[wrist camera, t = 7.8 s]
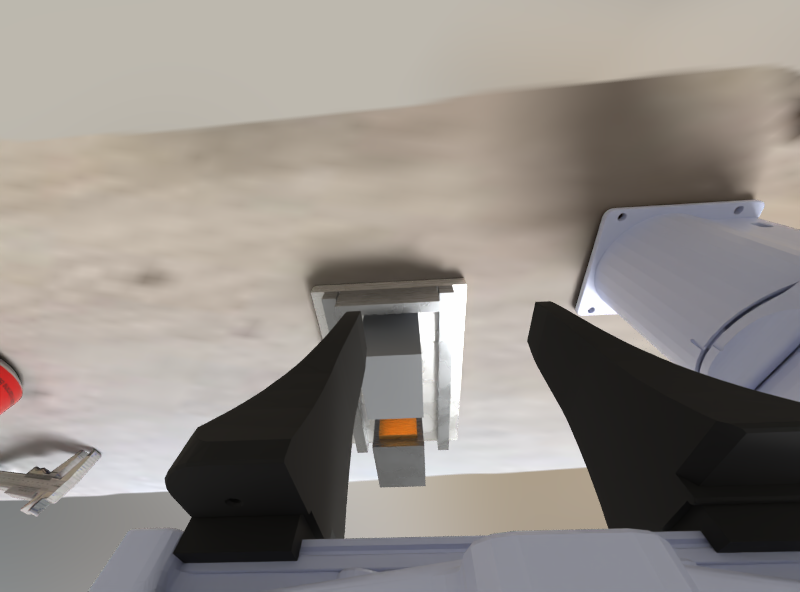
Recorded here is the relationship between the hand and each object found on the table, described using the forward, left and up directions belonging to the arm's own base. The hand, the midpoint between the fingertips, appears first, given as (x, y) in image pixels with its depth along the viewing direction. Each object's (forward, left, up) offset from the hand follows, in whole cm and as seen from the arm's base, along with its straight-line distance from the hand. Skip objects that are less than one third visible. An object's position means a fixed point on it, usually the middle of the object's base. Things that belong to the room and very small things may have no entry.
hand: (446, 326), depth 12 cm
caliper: (+47, +24, -9) cm, 54 cm away
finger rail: (+3, +12, -9) cm, 15 cm away
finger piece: (+3, +8, -8) cm, 11 cm away
